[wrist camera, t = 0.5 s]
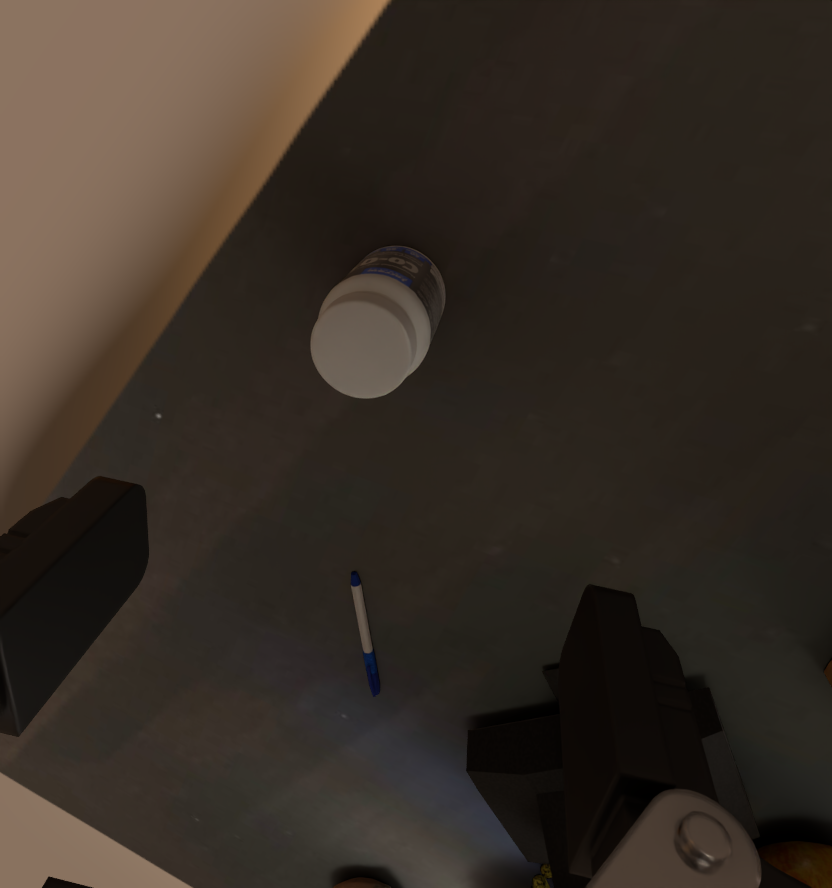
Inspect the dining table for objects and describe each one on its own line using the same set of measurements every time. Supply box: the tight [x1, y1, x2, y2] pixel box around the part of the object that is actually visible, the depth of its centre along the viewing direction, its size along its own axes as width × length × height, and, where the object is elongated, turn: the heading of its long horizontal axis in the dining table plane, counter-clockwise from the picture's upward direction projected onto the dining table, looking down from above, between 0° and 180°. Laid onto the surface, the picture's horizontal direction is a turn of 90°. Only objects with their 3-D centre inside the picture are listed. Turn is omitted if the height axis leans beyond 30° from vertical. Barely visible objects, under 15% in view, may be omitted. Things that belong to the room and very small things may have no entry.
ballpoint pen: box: [351, 571, 380, 697], centre depth 43 cm, size 10×1×1 cm, turn 8°
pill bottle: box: [310, 246, 446, 398], centre depth 28 cm, size 5×5×8 cm
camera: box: [466, 668, 760, 888], centre depth 39 cm, size 16×14×15 cm
